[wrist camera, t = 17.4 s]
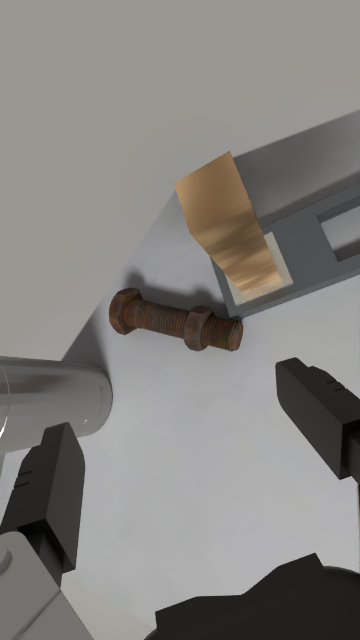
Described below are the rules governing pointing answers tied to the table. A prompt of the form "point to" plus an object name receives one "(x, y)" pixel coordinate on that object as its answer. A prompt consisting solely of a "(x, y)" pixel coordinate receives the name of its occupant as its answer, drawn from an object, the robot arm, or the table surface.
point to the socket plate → (296, 258)
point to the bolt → (174, 322)
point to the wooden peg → (226, 223)
